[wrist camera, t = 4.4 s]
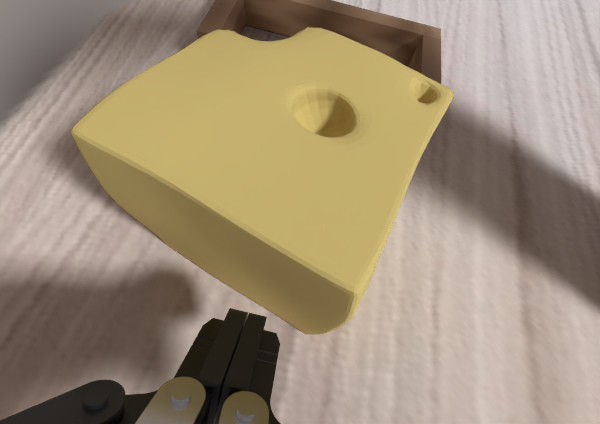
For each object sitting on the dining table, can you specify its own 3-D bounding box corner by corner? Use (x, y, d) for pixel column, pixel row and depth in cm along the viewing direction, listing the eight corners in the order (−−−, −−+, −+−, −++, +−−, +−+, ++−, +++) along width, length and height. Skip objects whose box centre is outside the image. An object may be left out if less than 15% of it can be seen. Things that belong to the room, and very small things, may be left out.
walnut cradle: (423, 60, 29) (440, 28, 26) (421, 123, 25) (441, 93, 23) (233, 11, 29) (231, -26, 26) (202, 67, 25) (196, 30, 22)
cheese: (252, 133, 23) (250, -20, 14) (385, 206, 21) (477, 88, 13) (149, 247, 18) (49, 126, 9) (311, 351, 17) (376, 324, 8)
